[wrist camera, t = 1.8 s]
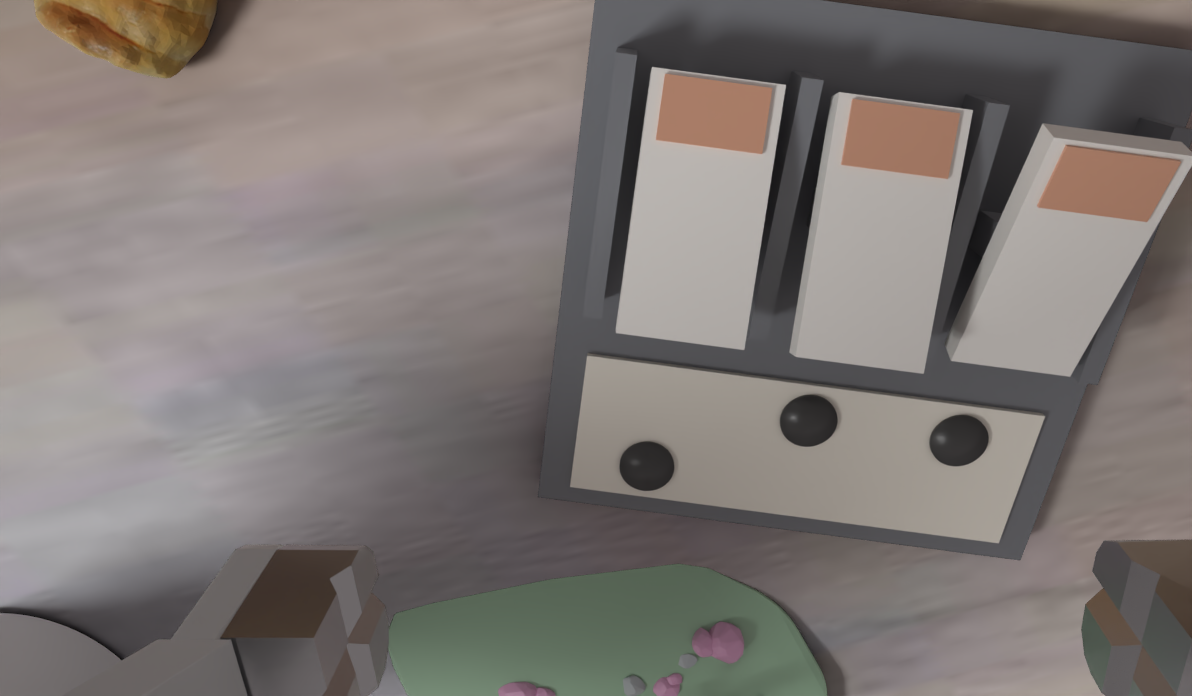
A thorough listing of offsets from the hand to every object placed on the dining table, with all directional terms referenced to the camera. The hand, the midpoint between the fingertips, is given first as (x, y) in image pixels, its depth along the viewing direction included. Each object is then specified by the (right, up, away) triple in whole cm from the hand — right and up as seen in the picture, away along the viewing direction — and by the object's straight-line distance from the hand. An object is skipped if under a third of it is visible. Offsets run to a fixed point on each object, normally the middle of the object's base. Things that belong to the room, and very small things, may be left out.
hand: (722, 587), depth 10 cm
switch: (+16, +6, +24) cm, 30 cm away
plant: (-1, -17, +41) cm, 44 cm away
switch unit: (+9, +5, +30) cm, 32 cm away
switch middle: (+9, +7, +24) cm, 27 cm away
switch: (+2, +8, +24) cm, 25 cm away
